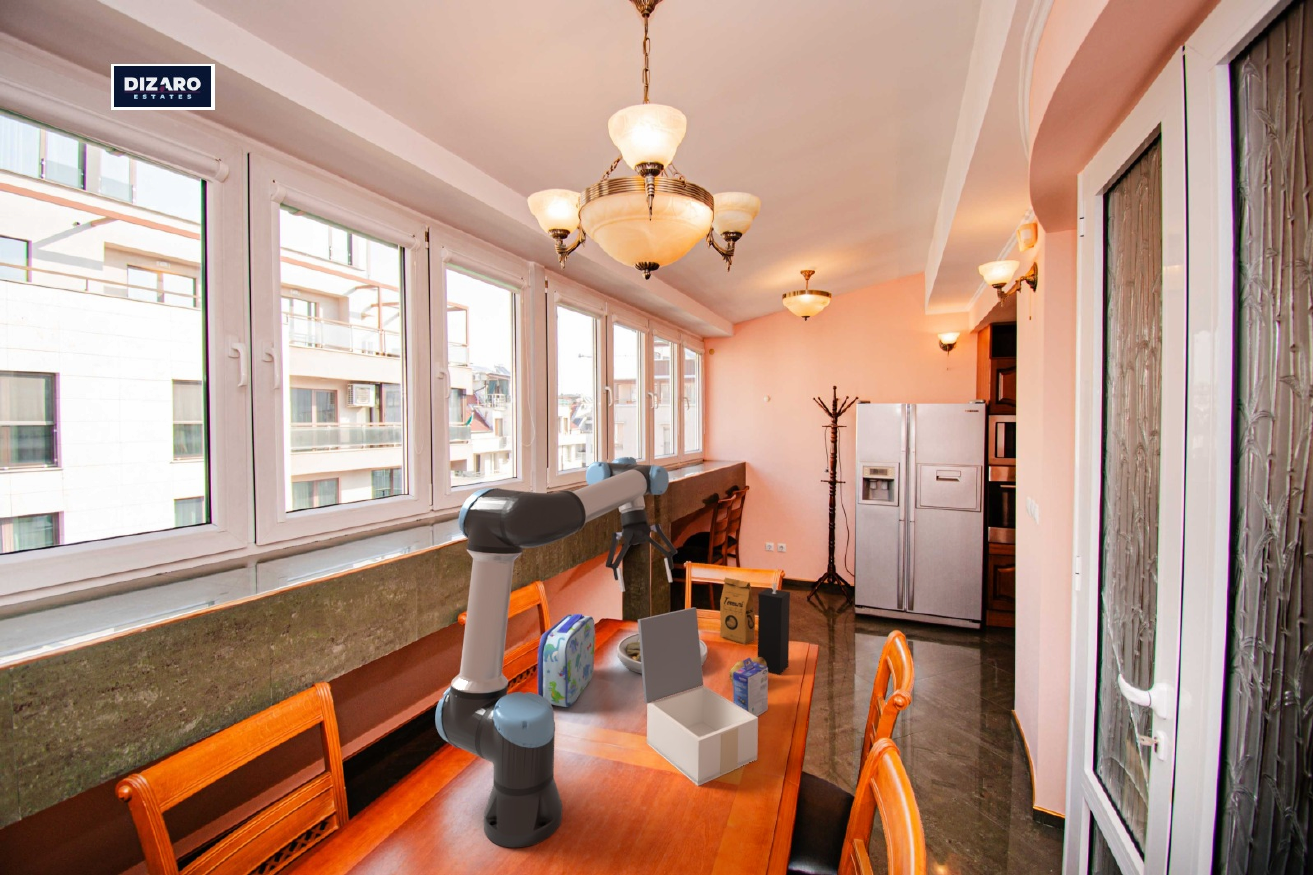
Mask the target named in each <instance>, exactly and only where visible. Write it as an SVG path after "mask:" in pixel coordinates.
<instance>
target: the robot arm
mask: <svg viewBox="0 0 1313 875" xmlns="http://www.w3.org/2000/svg"><path fill="white" fill-rule="evenodd" d="M669 478H670V477H669V473H668V470H667V469H666V467H664V466H662V465H655V464H638V462H637V460H636V459H635V457H633V456H623V457H619V458H616V459H614V460H612V461H611V462H606V461H602V460H601V461H595V462H592V463H591V464H590V465H589V466H587V468H586V471H585V481H586V484H587V485H586V486H583V487H581V488H578V489H576V490H573V491H572V490H569V489H564V490H563V489H562V490H559V491H556V492H549V493H548V492H547V493H546V492H534V491H522V490H515V489H514V490H512V489H504V488H499V487H495V488H482V489H479V490H476V491H475V492H473V493H472V494H471V495H470V496H469V497H467V498H466V499H465V501H464V502H463V504H462V506H461V507H460V510H459V511H460V512H459V515H458V527H459V530H460V531H461V534H462V535H463V536H464V537H465V538H466V539H467V543H466V544H467V546H466V551H467V553H468V554H469V555H470V556H471V558H472V567H471V575H470V582H469V591H468V601H467V607H466V618H465V624H464V634H463V645H462V652H461V661H460V669H459V673H458V674H457V675H456V676H455V677H454V678H453V679H452V680H451V683H450V686H449V687H448V688H447V689H446V690H445V691H444V693H443V694H442V695H443V696H442V698H440V699H439V701H438V703H437V706H436V710H435V714H434V715H435V719H434V720H435V728H436V729H437V730H436V731H437V732H438V733H437V734H439V736H440V737H441V738H442V740H444V741H445V742H447V743H449V745H452V746H453V748H456V749H459V750H464V751H466V752H468V753H471V754H472V755H475V756H477V757H479V758H481V759H484V760H486V761H488V762H490V763H492V764H493V783H492V784H493V786H492V788H491V792H490V793H489V794H490V795H489V798H488V801H487V804H486V806H485V809H484V812H483V813H484V814H483V831H484V835H485V836H486V837H487V838H488V839H489V841H491V842H492V843H494V844H496V845H498V846H501V847H507V848H524V847H525V848H526V847H529V846H533V845H537V844H538V843H541V842H543V841H546V839H548V838H550V837H551V836H552V835H553V834H554V833H555V832H556V831H557V830H558V829H559V827H560V825H561V823H562V820H563V802H562V797H561V796H560V792H559V788H558V787H557V783H556V780H555V777H554V774H555V770H554V769H555V768H554V766H555V737H556V736H555V735H556V734H555V732H556V722H555V714H554V707H553V706H552V704H550V703H549V702H548V701H547V700H546V699H545V698H544V697H542V696H540V695H538V693H534V692H530V691H527V692H525V693H524V692H522V691H517V692H516V691H515V692H510V693H508V686H509V680H508V678H507V677H506V676H505V675H504V674H503V667H504V666H503V665H504V657H505V648H506V638H507V631H508V630H507V629H508V618H509V610H510V603H511V602H510V601H511V594H512V593H511V592H512V584H513V582H512V581H513V576H514V575H513V573H514V566H515V561H516V559H518V557H520V556H521V555H522V554H523V549H530V548H537V547H542V546H545V545H549V544H552V543H555V542H558V541H561V540H562V539H565V538H567V537H569V536H572V535H574V534H576V533H578V532H580V531H581V530H582V529H583V528H584V527H585V525H586V523H588V522H591V521H593V520H594V519H597V518H599V517H601V516H603V515H606V514H607V513H610V512H612V511H614V510H616V509H618V511H619V513H620V515H619V516H620V523H621V528H622V531H621V532H615V531H613V532H612V533H611V539H612V541H611V545H610V548H609V551H608V555H607V557H606V562H605V567H606V568H610V569H612V571H613V572H612V573H613V577H614V578H613V579H614V580H615V581H618V586H619V590H620V591H619V592H620V593H624V592H626V589H625V582H624V577H623V571H622V567H619V566H620V564H621V563H622V561H623V559H624V557H625V556H626V554H627V551H628V550H629V548H630V547H631V545H633V546H635V545H638V544H645V543H646V542H648V543H649V544H651V545H652V546H653V547H654V548H656V549H657V551H659V552H660V553H662V554H663V555H664V556H665V558H663V559H664V564H665V570H666V575H667V580H668V583H673V577H672V572H671V570H673V569H674V568H675V567H674V562H673V561H674V560H673V557H674V555H677V554H678V550H677V549H676V547H675V546H674V544H673V543H672V541H671V540H669V538H668V537H667V536H666V534H665V533H664V531H663V529H662V527H661V524H660V523H658V522H656V523H655V524H653V525H650V523H649V520H648V514H647V510H645V508H646V505H645V499H644V496H647V495H652V496H655V495H658V496H660V495H664V493H666V491H667V489H668V487H669V481H670V479H669ZM652 531H653V532H655V533H656V534H657V535H659V537H660V538H661V539H662V541H663V543H664V544H665V545H666V546H667V547H668V550H670V551H668V550H667V549H665V547H663V546H662V545H661V544H659V543H658V542H657V541H656V540H655V539H653V538H652V537H651V536H650V534H651V532H652ZM621 538H624V539H625V540H624V542H623V544H622V547H621V549H620V550H619V553H618V554H617V556H616V555H615V554H616V552H617V548H618V544H619V541H620V540H621ZM615 556H616V558H615ZM614 558H615V559H614Z"/></svg>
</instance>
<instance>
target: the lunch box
mask: <svg viewBox="0 0 1313 875" xmlns="http://www.w3.org/2000/svg"><path fill="white" fill-rule="evenodd" d="M594 620H595V619H594V618H593V616H590V615H589V616H588V615H583V614H582V613H580V614H579V613H578V614H577V613H574V614H567V615H565V616H564V617H562V618H561V620H559V621H558V622H557V623H556V624H554V625H552V627H551V628H549V629H548V630H546V631H545V632H544V633H543V634H542V635H541V637H540V640H539V645H538V649H537V694H538V695H540V696H542V697H544V698H545V699H546V700H547V701H548V702H549V703H550V704H551V705H554V706H558V707H564V708H568V707H569V708H570V707H571V706H573V705H574V704H575V702H576V701H577V699H578V697H579V696H580V695H581V694H582V692H583V691H584V689H585V688H586V687H587V686H588V684H589V683H590V681H591V680H592V677H593V673H594V664H595V663H594V662H595V651H596V650H595V648H596V628H595V627H596V626H595V625H596V624H595V621H594Z"/></svg>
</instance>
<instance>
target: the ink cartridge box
mask: <svg viewBox="0 0 1313 875" xmlns="http://www.w3.org/2000/svg"><path fill="white" fill-rule="evenodd" d="M747 661H748V662H749V661H750V664H748V665H746V662H747ZM743 664H744V667H742V668H741V669H739V670H737V671H735V672H733V684H732V687H733V691H732V692H733V693H732V694H733V695H732V697H733V699H732V700H733V701H732V702H733V703H734V704H736V705H738V706H739V707H741V708H743V709H744V710H746V711H748V712H749V713H751V714H753V715H754V716H756V717H759V716H760V715H762V714H764V713H765V712H767V711H768V710H769V707H768V706H769V702H768V701H769V699H768V698H769V692H768V691H769V689H768V688H769V685H768V684H769V683H768V682H769V681H768V680H769V679H768V678H769V676H768V674H769V672H768V667H767V666H764V665H761V664H758V663H756V662H752V660H751V657H748V658H745V659H743Z"/></svg>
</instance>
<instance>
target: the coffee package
mask: <svg viewBox="0 0 1313 875" xmlns="http://www.w3.org/2000/svg"><path fill="white" fill-rule="evenodd" d="M723 582H724V583H723V589H722V593H721V597H720V600H719V602H720V605H719V606H720V608H719V609H720V614H719V616H720V619H719V621H720V627H719V629H720V630H719V637H721V638H724V639H728V640H731V641H733V642H735V643H739V644H742V645H745V646H746V645H748V644H750V643H752V641H753V642H754V641H755V634H756V615H755V602H754V601H755V600H754V596H753V590H752V587H751V583H750V582H747V581H743V580H739V579H736V578H735V579H734V578H729V577H724V579H723Z"/></svg>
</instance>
